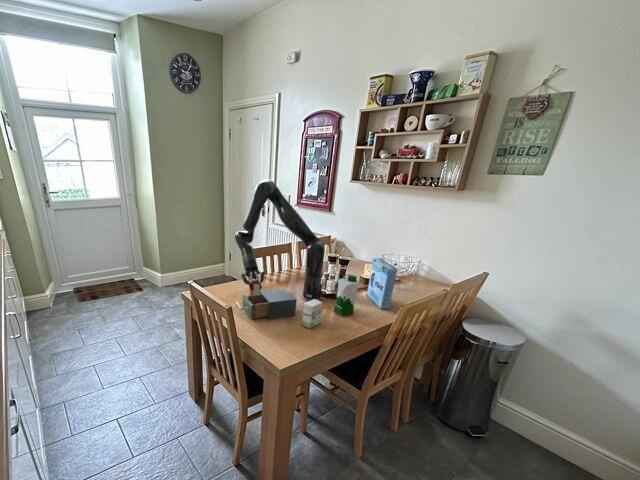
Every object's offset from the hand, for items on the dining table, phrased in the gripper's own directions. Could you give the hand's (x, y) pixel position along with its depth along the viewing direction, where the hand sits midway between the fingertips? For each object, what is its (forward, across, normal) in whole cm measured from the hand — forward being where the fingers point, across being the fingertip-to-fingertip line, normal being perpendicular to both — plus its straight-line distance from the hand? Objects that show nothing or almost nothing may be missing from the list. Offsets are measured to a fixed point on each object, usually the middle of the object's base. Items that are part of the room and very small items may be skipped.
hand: (256, 289), depth 182 cm
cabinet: (+16, +6, -7) cm, 18 cm away
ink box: (+28, +17, -18) cm, 38 cm away
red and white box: (+3, 0, +6) cm, 6 cm away
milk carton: (+23, +40, -14) cm, 48 cm away
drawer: (+15, -6, -7) cm, 18 cm away
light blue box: (+18, +67, -8) cm, 70 cm away
